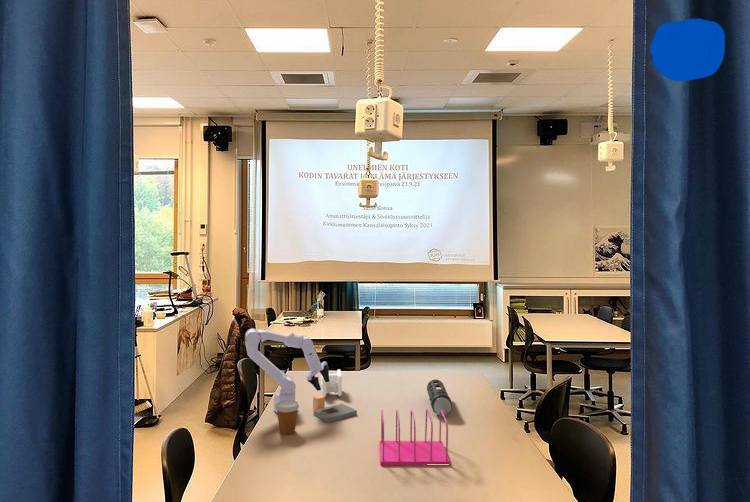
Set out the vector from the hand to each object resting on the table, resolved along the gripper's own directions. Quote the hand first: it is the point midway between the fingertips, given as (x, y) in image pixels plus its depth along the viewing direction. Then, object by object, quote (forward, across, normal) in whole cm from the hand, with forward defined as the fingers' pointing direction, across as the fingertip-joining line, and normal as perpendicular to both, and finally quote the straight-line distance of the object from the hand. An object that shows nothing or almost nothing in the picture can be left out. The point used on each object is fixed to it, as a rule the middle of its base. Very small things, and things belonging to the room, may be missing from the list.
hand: (323, 385), depth 226 cm
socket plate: (+11, -8, -8) cm, 16 cm away
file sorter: (+19, -28, -55) cm, 65 cm away
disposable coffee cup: (+2, -34, -3) cm, 34 cm away
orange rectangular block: (+9, -6, +3) cm, 11 cm away
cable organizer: (+13, +15, +12) cm, 23 cm away
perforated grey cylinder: (+30, +23, -43) cm, 57 cm away
